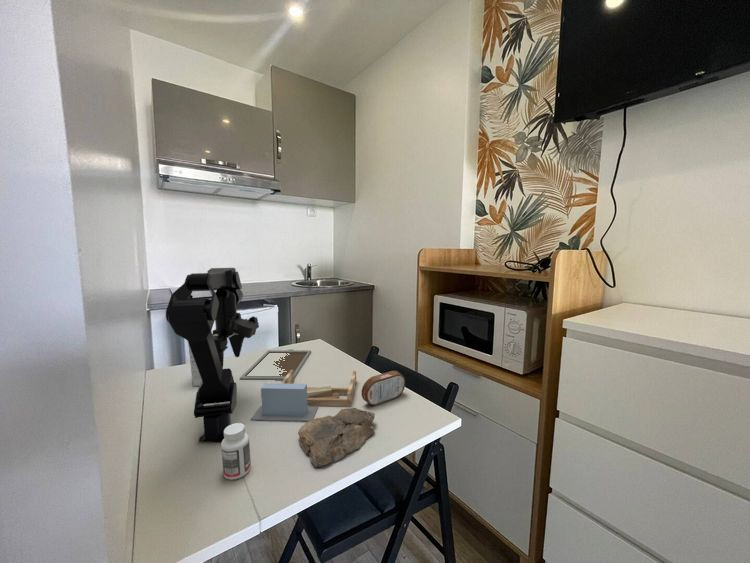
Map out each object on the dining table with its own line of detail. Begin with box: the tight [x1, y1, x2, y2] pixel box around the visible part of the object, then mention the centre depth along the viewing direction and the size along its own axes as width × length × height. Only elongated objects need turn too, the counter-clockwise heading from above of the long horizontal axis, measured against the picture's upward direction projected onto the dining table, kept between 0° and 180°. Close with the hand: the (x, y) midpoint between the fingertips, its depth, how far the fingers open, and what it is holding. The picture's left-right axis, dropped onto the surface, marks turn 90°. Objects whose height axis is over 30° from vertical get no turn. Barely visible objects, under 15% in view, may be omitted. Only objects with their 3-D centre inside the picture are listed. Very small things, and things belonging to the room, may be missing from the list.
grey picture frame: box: [239, 349, 312, 382], centre depth 121 cm, size 19×2×30 cm
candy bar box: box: [187, 330, 219, 387], centre depth 106 cm, size 11×5×16 cm, turn 179°
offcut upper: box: [307, 385, 333, 398], centre depth 93 cm, size 3×9×2 cm, turn 106°
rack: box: [280, 370, 357, 408], centre depth 97 cm, size 16×23×4 cm
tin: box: [361, 370, 406, 406], centre depth 92 cm, size 15×3×8 cm, turn 123°
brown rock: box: [297, 407, 376, 468], centre depth 75 cm, size 14×5×20 cm
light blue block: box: [260, 382, 308, 416], centre depth 85 cm, size 3×12×8 cm, turn 87°
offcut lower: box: [316, 393, 340, 398], centre depth 93 cm, size 3×13×2 cm, turn 94°
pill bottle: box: [220, 422, 252, 481], centre depth 64 cm, size 5×5×10 cm
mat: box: [250, 404, 319, 423], centre depth 85 cm, size 7×17×1 cm, turn 87°
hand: (229, 362), depth 89 cm, fingers open, 9 cm apart
